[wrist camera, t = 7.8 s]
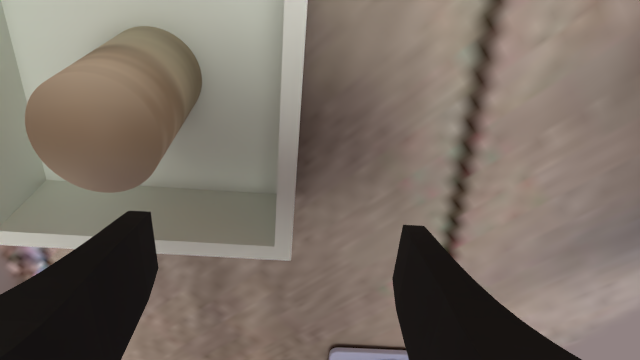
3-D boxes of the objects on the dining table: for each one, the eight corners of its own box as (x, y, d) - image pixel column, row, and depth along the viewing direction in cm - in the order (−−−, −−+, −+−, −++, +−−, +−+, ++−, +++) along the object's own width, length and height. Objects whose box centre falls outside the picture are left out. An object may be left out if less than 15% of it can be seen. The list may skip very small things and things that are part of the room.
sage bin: (295, 196, 23) (290, 260, 19) (45, 181, 23) (-18, 243, 18) (313, -83, 17) (312, -82, 13) (-31, -116, 17) (-152, -126, 12)
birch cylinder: (203, 124, 20) (165, 197, 15) (110, 116, 20) (40, 187, 15) (200, 31, 18) (155, 78, 13) (97, 21, 18) (10, 66, 13)
